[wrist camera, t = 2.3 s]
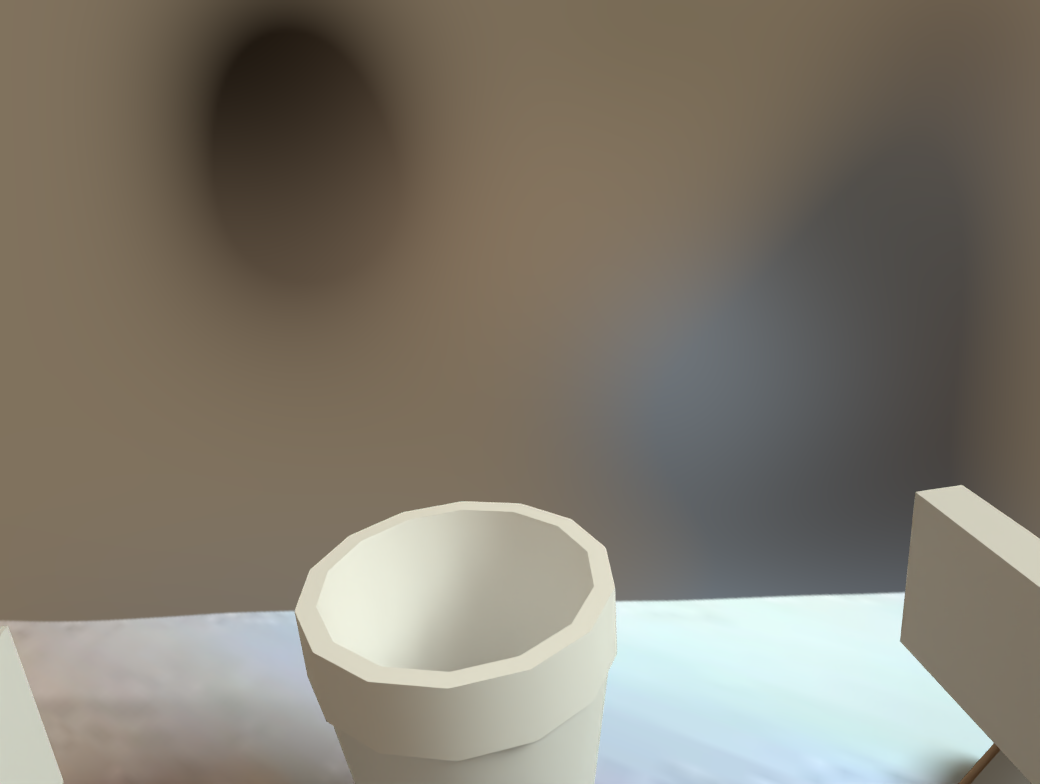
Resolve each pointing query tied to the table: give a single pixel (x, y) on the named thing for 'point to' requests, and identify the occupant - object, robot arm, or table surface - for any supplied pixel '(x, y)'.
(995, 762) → the stand
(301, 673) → the table surface
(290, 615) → the table surface
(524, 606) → the foam cup
